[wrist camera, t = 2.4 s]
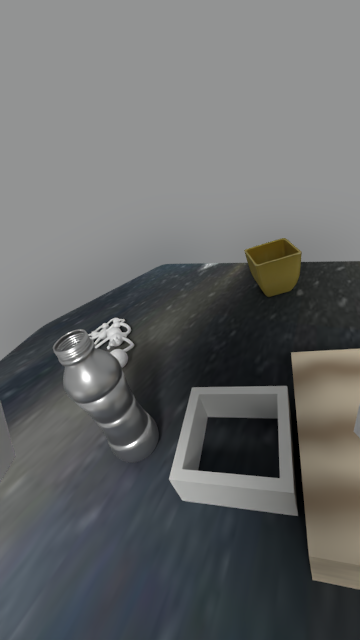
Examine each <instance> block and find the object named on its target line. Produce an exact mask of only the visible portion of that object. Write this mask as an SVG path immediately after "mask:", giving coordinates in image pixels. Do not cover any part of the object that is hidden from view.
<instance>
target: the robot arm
mask: <svg viewBox="0 0 360 640" xmlns="http://www.w3.org/2000/svg"><path fill="white" fill-rule="evenodd" d="M354 432H355V433H356V435H357V436H358V437H359V438H360V404H359V409H358V413H357V418H356V423H355V427H354ZM15 457H16V456H15V452H14V448H13V445H12V441H11V438H10V434H9V431H8V427H7V423H6V420H5V416H4V413H3V409H2V405H1V402H0V482H1V480H2V478H3V477H4V475H5V473H6V472H7V470H8V468H9V467H10V465H11V463H12V462H13V460H14V458H15Z"/></svg>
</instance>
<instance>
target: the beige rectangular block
mask: <svg viewBox="0 0 360 640" xmlns="http://www.w3.org/2000/svg"><path fill="white" fill-rule="evenodd" d="M291 358H292V369H293V380H294V392H295V403H296V415H297V426H298V438H299V449H300V461H301V472H302V483H303V495H304V506H305V518H306V529H307V541H308V552H309V560H310V567H311V573H312V580H315V581H320V582H325V583H330V584H335V585H339V586H344V587H349V588H354V589H359V590H360V438H359V437H358V436H357V435H356V433H355V432H354V427H355V423H356V418H357V413H358V409H359V404H360V349H345V350H327V351H308V352H291Z"/></svg>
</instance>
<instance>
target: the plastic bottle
mask: <svg viewBox="0 0 360 640" xmlns="http://www.w3.org/2000/svg"><path fill="white" fill-rule="evenodd" d="M53 350H54V353H55V354H56V355H57V357H58V359H59V361H60V363H61V364H62V365H63V366H65V371H64V378H63V385H64V388H65V392H66V394H67V395H68V396H69V397H70V398H71V399H72V400H73V401H74V402H75V403H76V404H78V405H79V406H80V407H81V408H82V409H83V410H85V411H86V412H87V413H88V414H89V415H90V416H91V417H92V419H93V420H95V422H96V423H97V424H98V425H99V426H100V428H101V430H102V431H103V433H104V435H105V436H106V438H107V440H108V443H109V446H110V448H111V449H112V451H113V453H114V454H115V455H116V456H117V457H118V458H120V459H121V460H123V461H125V462H128V463H134V462H139V461H141V460H144V459H145V458H147V457H148V456H149V455H150V454H151V453H152V452H153V451H154V449H155V447H156V445H157V443H158V439H159V431H158V428H157V424H156V422H155V420H154V419H153V418H152V417H151V416H150V415H149V414H148V413H147V412H146V411H145V410H144V409H143V408H142V406H141V405H140V404H139V403H138V401H137V400H136V399H135V397H134V395H133V393H132V391H131V389H130V387H129V385H128V383H127V381H126V378H125V375H124V373H123V370H122V367H121V365H120V363H119V361H118V359H117V358H116V357H114V356H113V355H112V354H110V353H108V352H106V351H104V350H101V349H97V348H95V344H94V342H93V340H92V339H90V337H89V335H88V334H87V332H86V331H85V330H82V329H79V330H74V331H71V332H69V333H67V334H65V335H64V336H62V337H61V338H60V339H59V340H58V341H57V342H56V343H55V344H54V346H53Z"/></svg>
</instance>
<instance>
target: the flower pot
mask: <svg viewBox="0 0 360 640" xmlns="http://www.w3.org/2000/svg"><path fill="white" fill-rule="evenodd" d="M244 251H245V254H246V258H247V261H248V264H249V268H250V271H251V273H252V275H253V277H254V279H255V280H256V282H257V283H258V285H259V286H260V288H261V290H262V291H263V293H264V294H265V295H266V296H267V297H271V296H274V295H278V294H281V293H285V292H288V291H291V290H292V289H293V288H294V286H295V285H296V283H297V281H298V278H299V274H300V265H301V253H302V252H301V251H300V250H299V249H297V248H296V247H295V246H294V245H293V244H292V243H290V242H289V241H288V240H287V239H285V238H282V239H279V240H275V241H272V242H268V243H265V244H262V245H258V246H255V247H252V248H249V249H246V250H244Z"/></svg>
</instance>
